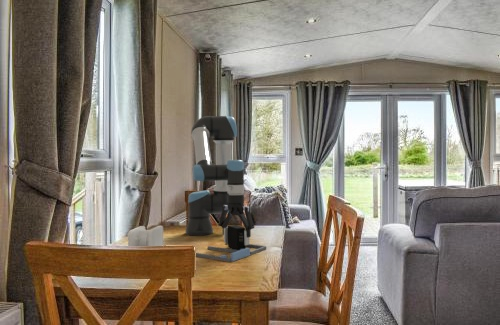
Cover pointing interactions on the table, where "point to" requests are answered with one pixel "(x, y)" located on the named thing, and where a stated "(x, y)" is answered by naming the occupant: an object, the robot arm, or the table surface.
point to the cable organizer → (145, 236)
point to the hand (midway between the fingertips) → (236, 243)
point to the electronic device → (236, 237)
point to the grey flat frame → (233, 252)
